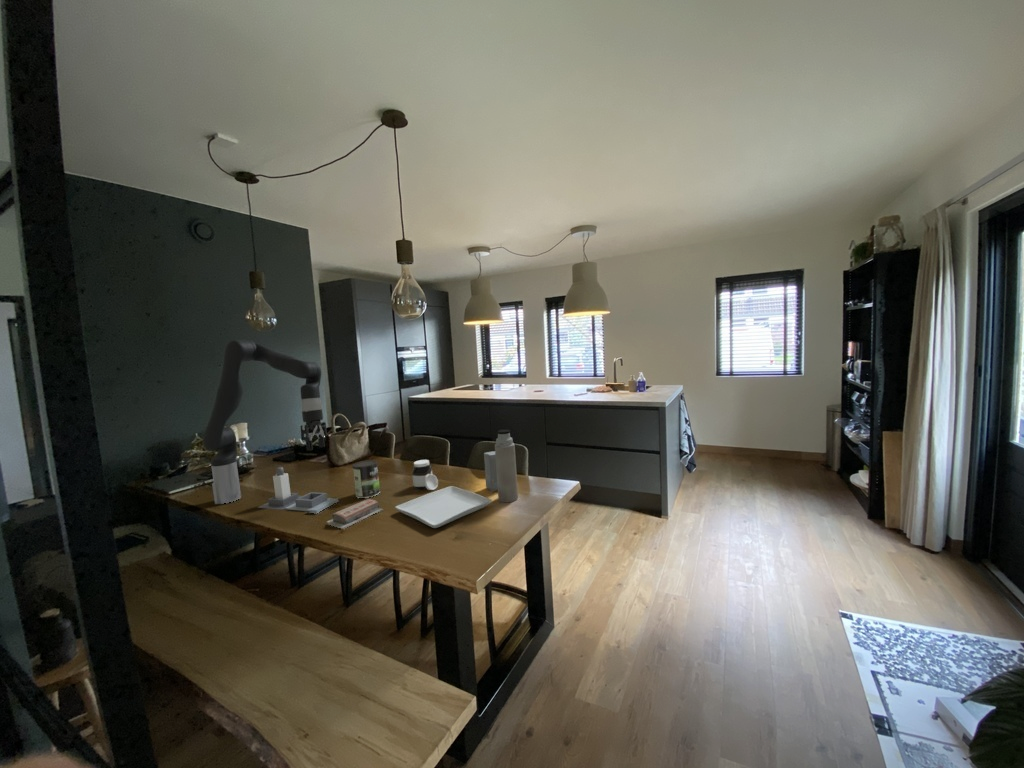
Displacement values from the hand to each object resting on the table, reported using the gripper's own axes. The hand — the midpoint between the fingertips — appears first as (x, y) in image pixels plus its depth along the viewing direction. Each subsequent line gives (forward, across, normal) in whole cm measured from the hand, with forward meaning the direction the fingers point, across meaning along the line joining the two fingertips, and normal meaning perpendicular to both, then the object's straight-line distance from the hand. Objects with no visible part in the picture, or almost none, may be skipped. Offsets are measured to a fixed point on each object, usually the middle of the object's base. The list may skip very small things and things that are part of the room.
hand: (316, 448), depth 167 cm
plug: (+22, -5, -20) cm, 30 cm away
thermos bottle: (+29, -6, +76) cm, 82 cm away
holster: (+22, -5, -21) cm, 31 cm away
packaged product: (+28, +9, +19) cm, 35 cm away
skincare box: (+27, -18, +70) cm, 77 cm away
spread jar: (+25, -21, +38) cm, 50 cm away
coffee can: (+24, -14, +13) cm, 31 cm away
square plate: (+29, +5, +52) cm, 60 cm away
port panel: (+24, -2, -6) cm, 25 cm away
